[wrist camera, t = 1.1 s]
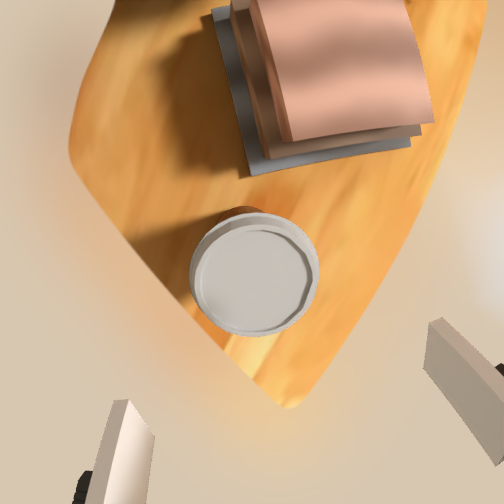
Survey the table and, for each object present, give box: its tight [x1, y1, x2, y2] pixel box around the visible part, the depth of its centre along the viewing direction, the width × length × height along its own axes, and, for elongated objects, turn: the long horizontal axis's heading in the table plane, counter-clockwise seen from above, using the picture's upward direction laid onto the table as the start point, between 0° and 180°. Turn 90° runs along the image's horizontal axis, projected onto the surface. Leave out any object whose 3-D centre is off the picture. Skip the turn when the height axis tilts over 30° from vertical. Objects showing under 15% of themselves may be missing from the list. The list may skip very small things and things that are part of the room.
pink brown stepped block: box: [211, 0, 435, 176], centre depth 23 cm, size 18×18×10 cm
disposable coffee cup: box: [189, 206, 319, 337], centre depth 27 cm, size 10×10×12 cm
